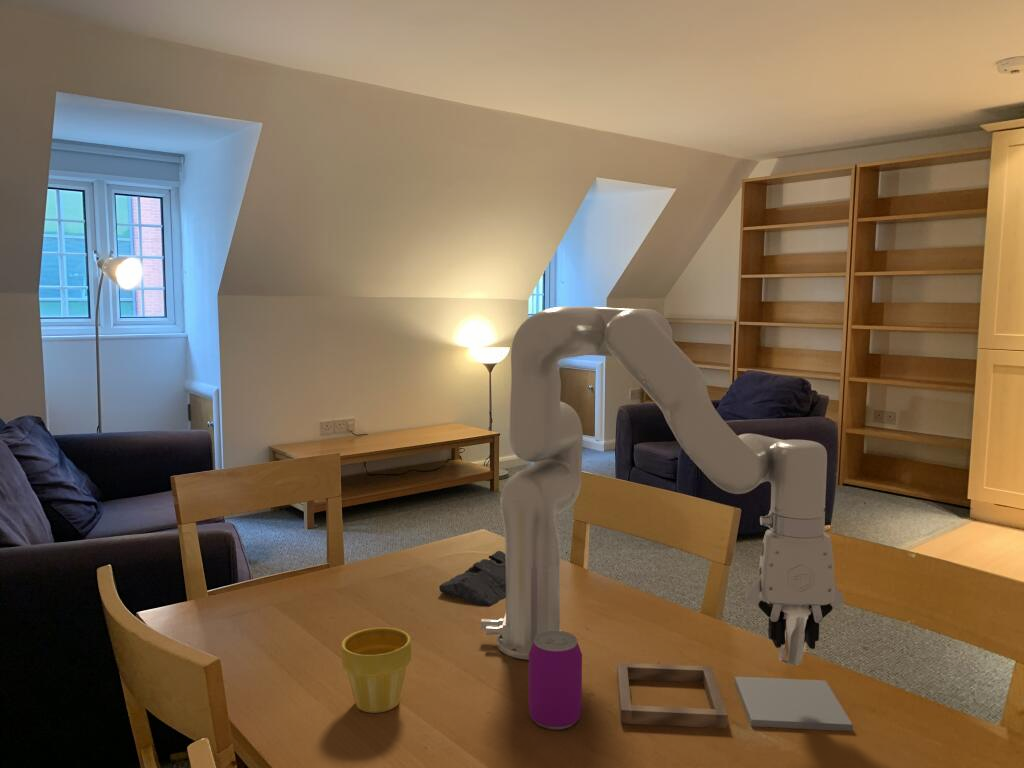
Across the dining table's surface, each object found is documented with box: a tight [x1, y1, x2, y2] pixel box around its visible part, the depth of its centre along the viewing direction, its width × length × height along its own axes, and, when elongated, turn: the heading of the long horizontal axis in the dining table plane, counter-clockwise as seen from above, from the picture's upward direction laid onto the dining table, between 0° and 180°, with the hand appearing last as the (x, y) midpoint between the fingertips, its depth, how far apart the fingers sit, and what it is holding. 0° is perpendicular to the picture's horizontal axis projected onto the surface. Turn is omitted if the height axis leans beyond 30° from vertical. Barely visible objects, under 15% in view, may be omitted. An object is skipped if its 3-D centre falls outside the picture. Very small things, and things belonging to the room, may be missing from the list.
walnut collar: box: [616, 662, 729, 729], centre depth 121 cm, size 15×15×2 cm
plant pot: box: [340, 627, 412, 714], centre depth 119 cm, size 10×10×10 cm
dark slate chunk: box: [439, 550, 506, 607], centre depth 169 cm, size 15×22×5 cm
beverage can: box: [528, 630, 583, 730], centre depth 115 cm, size 8×8×12 cm
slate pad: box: [734, 676, 854, 732], centre depth 119 cm, size 14×13×1 cm
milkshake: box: [778, 604, 812, 666], centre depth 118 cm, size 4×5×10 cm
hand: (793, 643), depth 118 cm, fingers closed on milkshake, 4 cm apart
